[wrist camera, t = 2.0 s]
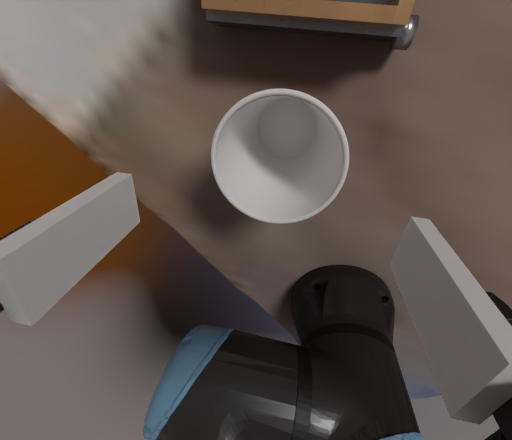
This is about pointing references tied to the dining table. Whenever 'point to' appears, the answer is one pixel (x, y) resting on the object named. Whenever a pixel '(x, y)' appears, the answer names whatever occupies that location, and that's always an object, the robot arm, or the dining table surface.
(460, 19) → the dining table surface
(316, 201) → the coffee cup
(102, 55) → the dining table surface
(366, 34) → the square wooden box
